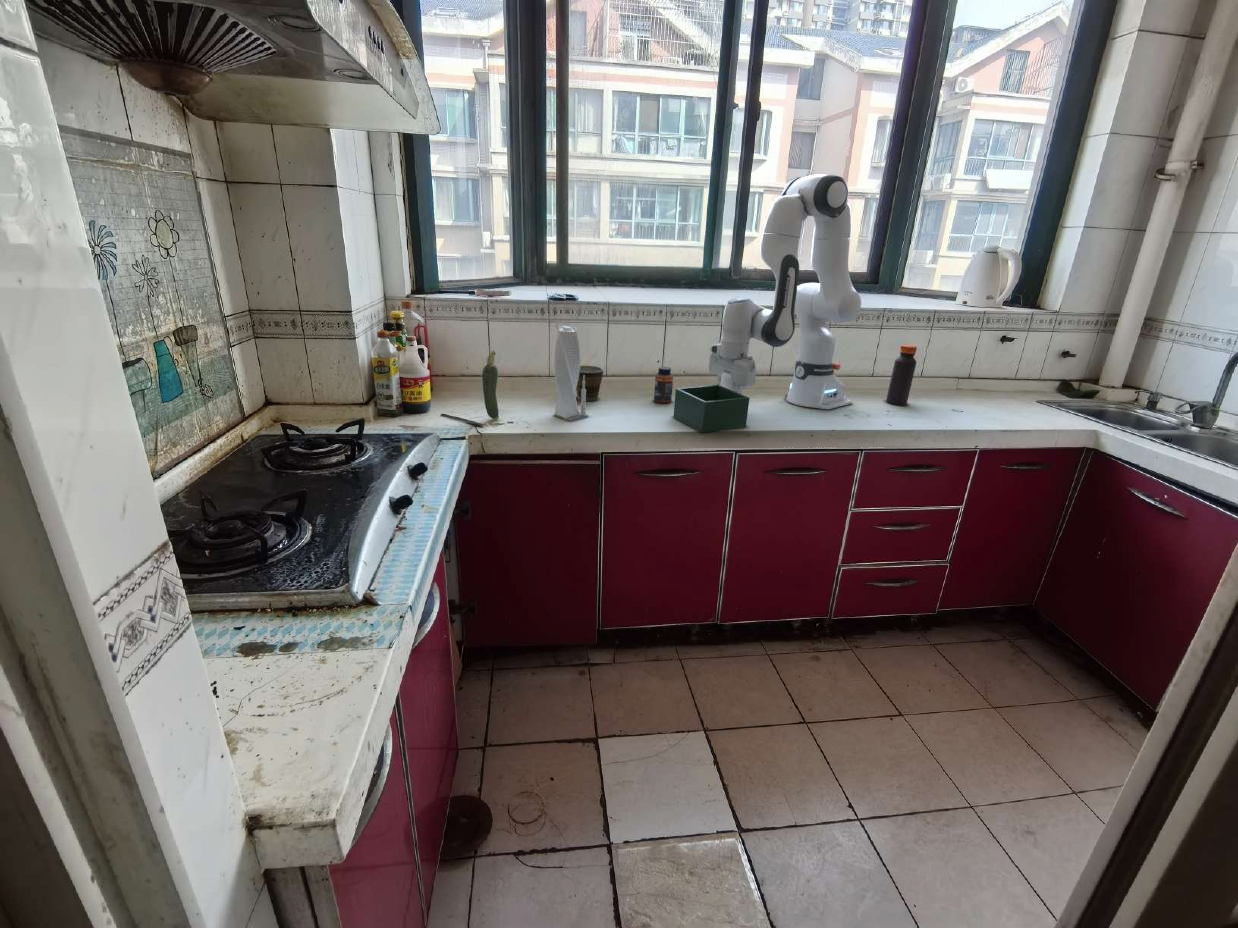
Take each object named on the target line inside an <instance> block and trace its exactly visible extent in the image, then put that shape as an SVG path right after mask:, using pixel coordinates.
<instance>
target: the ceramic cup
mask: <svg viewBox="0 0 1238 928" xmlns="http://www.w3.org/2000/svg"><path fill="white" fill-rule="evenodd" d="M583 375H585V377H584V381H585V389H586V402H595V401H597V400H598V399H599V392H600V390H601V389H600V388H601V384H602V381H603V375H604V368H603V367H600V366H597V365H580V372H579V378H578V383H577V387H576V390H575V391H576V396H577V397H576V398H577V400H578V401H581V389H582V388H583Z"/></svg>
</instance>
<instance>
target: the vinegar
mask: <svg viewBox="0 0 1238 928" xmlns="http://www.w3.org/2000/svg"><path fill="white" fill-rule="evenodd" d="M917 349H918V347H917V346H916V345H912V344H901V345H900V349H899V354H900V355H899V356H897V357H896V358H895V360H894V363H893V367H892V372H891V376H890V380H889V381H890V382H889V386H888V390H887V395H886V399H885V401H886V403H887V404H891V405H895V406H906V405H907V404H908V400H909V396H910V392H911V389H912V388H911V387H912V383H913V379H914V375H915V371H916V367H917V360H916V359H915V355H916V354H917V353H916V352H917Z"/></svg>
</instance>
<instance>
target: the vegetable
mask: <svg viewBox="0 0 1238 928" xmlns="http://www.w3.org/2000/svg"><path fill="white" fill-rule="evenodd" d="M496 353H497V352H496V351H494V350H492V351H491V352H490V353H489V354H488V356H487V359H486V365H485V366H484V367H483V370H482V375H481V376H482V393H483V399H484V406H485V411H486V414H487V415H488V417H489V418H491V420H493V421H494V420H495V421H498V419H499V417H500V416H499V413H500V412H499V406H498V405H499V404H498V399H497V386H498V385H497V384H498V379H499V370H498V367H497V366H496V365H495V364H494V363H495V356H496V355H497V354H496Z"/></svg>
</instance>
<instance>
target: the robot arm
mask: <svg viewBox="0 0 1238 928" xmlns="http://www.w3.org/2000/svg"><path fill="white" fill-rule="evenodd" d="M848 187H849V186H848V183H847V181H846V180H845V178H843V177H842V176H840V175H837V174H832V173H829V174H823V173H822V174H819V173H818V174H811V175H808V176H807V175H806V176H799V177H796V178H793V179H792V180H790V181H788V183H787V184H786V185H785V187H784V188H783V190H782V192H781V195H780V196H779V197H776V198H775V199H774V201H773V202H772V203H771V206H770V208H769V211H768V214H767V217H766V220H765V223H764V227H763V231H762V236H761V240H760V247H759V250H760V252H759V253H760V257H761V259H762V261H763V262H764V264H765V265H766V266H767V267H768V268H769V269H770V271H772V273H773V275H774V278H775V289H774V290H775V292H774V298H773V307H772V309H769V308H766V307H764V306H761V305H759V303H756V302H755V301H754V300H753V299H752V298H751V297H748V296H736V297H733V298H731V299H729V300H727V302H726V304H725V307H724V311H723V317H722V324H721V328H722V329H721V330H722V334H721V338H720V343H716V344H712V345H710V346H709V347H710V348H709V350H710V351H709V352H711V353H710V355H709V359H708V361H709V362H708V370H709V373H710V374H711V375H714V376H717V382H718V385H720V383H721V375H722V373H723V370H724V372H727V373H731V378H732V382H734V383H737V384H736V387H737V389H736V391H735V392H737V393H739V394H742V391H743V390H744V388H748V387H754V386H755V384H756V379H757V378H756V377H757V366H756V361H755V360H754V358H753V356H752V355H749V348H750V340H751V339H755V340H757V341H761V342H763V343H765V344H767V345H769V346H770V347H773V348H780V347H783V346H784V345H786V344H787V343H788V342H790V340H791V339H792V338H793V336H794V334H795V329H796V323H795V322H796V320H795V319H796V318H795V315H796V317H797V320H798V325H799V331H800V332H799V333H800V337H799V338H800V340H799V348H798V355H797V359H796V360H795V364H794V374H793V377H792V381H791V383H790V385H789V392H788V393H787V396H786V401H787V402H788V403H790V404H793V405H795V406H800V407H805V408H814V409H815V408H816V409H821V410H831V409H835V408H840V407H844V406H848V405H851V404H852V400H851V399H850V398H848V397H846V386H845V384H844V383H843V382H842V381H841V380H840V379H839V377H837V375H835V371H840V369H841V368H842V367H841V364H840V363H833V357H834V353H835V348H836V347H835V346H836V338H835V336H834V335H833V334H832V332H831V330H830V327H829V322H831V323H848V322H851V321H853V320H854V319H856V317H857V316H858V315H859V313H860V311H861V308H862V298H861V296H860V294H859V293H858V291H857V290H856V289H855V287H854V285H853V282H852V279H851V276H850V271H849V255H850V244H851V237H852V209H851V205H850V204H849V203H848V202H849V201H848V200H849V188H848ZM808 217H812V218H813V221H814V226H813V234H812V244H811V253H810V254H811V255H810V266H811V268H812V269H813V270H814V271H815V273H816V275H817V277H818V281H819V282H807V283H801V284H799V278H800V277H799V276H800V262H799V247H800V241H801V237H802V231H803V225H804V223H805V221H806V219H807V218H808ZM798 284H799V285H798Z"/></svg>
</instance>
